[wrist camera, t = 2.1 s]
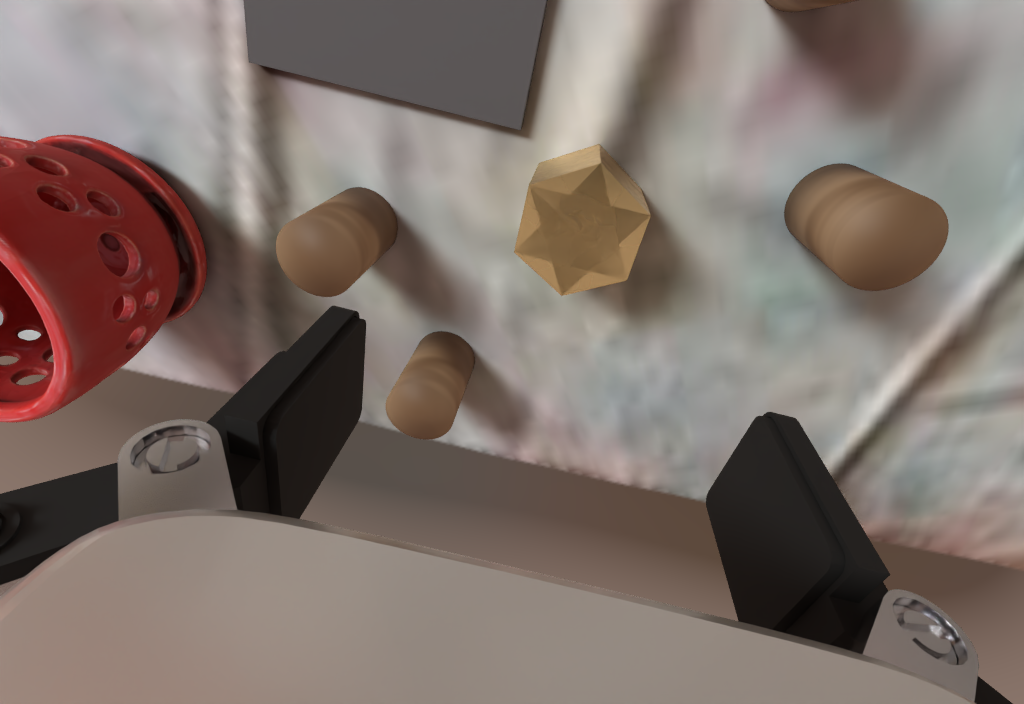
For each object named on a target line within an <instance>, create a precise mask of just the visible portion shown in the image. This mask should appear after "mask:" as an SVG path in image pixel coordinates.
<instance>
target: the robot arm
mask: <svg viewBox="0 0 1024 704" xmlns="http://www.w3.org/2000/svg"><path fill="white" fill-rule="evenodd" d="M365 336H366V321H365V320H364V319H360V318H359V313H358V312H357V311H353V310H349V309H345V308H341V307H337V306H332V307H330V308H329V309H328V310H327V311H326V312H325V313H324V314H323V315H322V316H321V317H320V318H319V319H318V320H317V321H316V322H315V323H314V324H313V325H312V326H311V327H310V328H309V329H308V330H307V331H306V332H305V333H304V334H303V335H302V336H301V337H300V338H299V339H298V340H297V341H296V342H295V343H294V344H293V345H292V347H291V348H290V349H289V350H288V351H287V352H285V351H282V352H279V353H277V354H276V355H275V356H274V357H273V358H272V359H271V360H270V361H269V362H268V363H267V364H266V365H265V366H264V367H262V368H261V369H260V370H259V371H258V372H257V373H256V374H255V375H254V376H253V377H252V378H251V379H250V380H249V381H248V382H247V383H246V384H245V385H244V386H243V387H242V388H241V389H240V390H239V391H238V392H237V393H236V394H235V395H234V396H233V397H232V398H231V399H230V400H229V401H228V402H227V403H226V404H225V405H224V406H223V407H222V408H221V409H220V410H219V411H218V412H217V413H216V414H215V415H214V416H213V417H212V418H211V419H210V420H209V421H208V422H207V423H204V422H201V421H197V420H185V419H182V420H172V421H166V422H163V423H159V424H156V425H152V426H151V427H148V428H146V429H144V430H142V431H140V432H138V433H137V434H136V435H134V436H133V437H132V438H130V439H129V440H128V441H127V442H126V443H125V445H124V446H123V447H122V448H121V450H120V453H119V457H118V463H114V464H110V465H107V466H103V467H99V468H96V469H92V470H88V471H84V472H80V473H77V474H73V475H69V476H65V477H62V478H58V479H54V480H51V481H47V482H43V483H39V484H36V485H32V486H28V487H25V488H21V489H17V490H13V491H10V492H6V493H2V494H0V704H1012V703H1011V702H1010V701H1009V700H1007V699H1006V698H1005V697H1003V696H1002V695H1001V694H1000V693H999V692H997V691H996V690H995V689H994V688H992V687H991V686H990V685H989V684H987V683H986V682H985V681H983V680H982V679H981V678H980V677H978V669H979V663H978V655H977V653H976V651H975V649H974V646H973V644H972V642H971V641H970V640H969V638H968V637H967V635H966V634H965V633H964V631H963V630H962V629H961V628H960V627H959V626H958V625H957V623H956V622H954V621H953V619H952V618H951V617H950V616H949V615H947V614H946V613H945V612H944V611H942V610H941V609H940V608H939V607H937V606H936V605H935V604H933V603H931V602H930V601H928V600H927V599H925V598H923V597H922V596H919V595H917V594H914V593H912V592H909V591H905V590H900V589H895V590H891V591H888V590H887V588H886V586H885V585H884V583H883V581H884V580H885V579H886V578H887V577H888V576H889V575H890V573H889V572H888V570H887V568H886V567H885V565H884V563H883V562H882V560H881V559H880V557H879V555H878V553H877V552H876V550H875V549H874V547H873V545H872V543H871V542H870V540H869V538H868V537H867V535H866V533H865V532H864V530H863V528H862V527H861V525H860V523H859V522H858V520H857V518H856V517H855V515H854V513H853V512H852V510H851V508H850V507H849V505H848V503H847V502H846V500H845V498H844V497H843V495H842V493H841V492H840V490H839V488H838V487H837V485H836V483H835V482H834V480H833V478H832V477H831V475H830V473H829V472H828V470H827V468H826V467H825V465H824V463H823V462H822V460H821V458H820V457H819V455H818V453H817V452H816V450H815V448H814V447H813V445H812V443H811V442H810V440H809V438H808V437H807V435H806V433H805V432H804V430H803V428H802V427H801V425H800V423H799V422H798V421H797V419H796V418H793V417H789V416H785V415H781V414H777V413H773V412H767V413H766V414H764V415H763V416H758V417H756V418H755V419H754V421H753V422H752V424H751V425H750V427H749V428H748V430H747V432H746V433H745V435H744V436H743V438H742V439H741V441H740V443H739V444H738V446H737V447H736V449H735V450H734V452H733V454H732V455H731V457H730V458H729V460H728V462H727V463H726V465H725V466H724V468H723V469H722V471H721V473H720V474H719V476H718V477H717V479H716V480H715V482H714V484H713V485H712V487H711V488H710V490H709V492H708V494H707V498H706V507H707V510H708V514H709V517H710V521H711V525H712V528H713V532H714V535H715V539H716V542H717V546H718V549H719V553H720V557H721V560H722V564H723V567H724V570H725V574H726V578H727V581H728V585H729V588H730V592H731V596H732V599H733V603H734V606H735V610H736V613H737V617H738V620H739V621H735V620H730V619H726V618H722V617H718V616H714V615H709V614H705V613H702V612H698V611H693V610H689V609H685V608H681V607H677V606H673V605H669V604H665V603H661V602H657V601H652V600H649V599H644V598H640V597H636V596H632V595H627V594H624V593H619V592H615V591H611V590H607V589H603V588H598V587H594V586H590V585H586V584H582V583H578V582H573V581H569V580H565V579H561V578H557V577H552V576H548V575H544V574H540V573H536V572H531V571H527V570H523V569H518V568H514V567H510V566H506V565H502V564H497V563H493V562H489V561H484V560H480V559H476V558H472V557H468V556H463V555H459V554H455V553H450V552H446V551H442V550H437V549H433V548H429V547H424V546H420V545H416V544H411V543H407V542H403V541H399V540H394V539H390V538H386V537H382V536H377V535H372V534H368V533H363V532H358V531H354V530H349V529H344V528H340V527H335V526H330V525H326V524H321V523H317V522H312V521H307V520H302V519H300V517H301V515H302V513H303V512H304V510H305V509H306V507H307V505H308V504H309V502H310V500H311V499H312V497H313V495H314V494H315V492H316V490H317V489H318V487H319V485H320V484H321V482H322V480H323V479H324V477H325V475H326V474H327V472H328V471H329V469H330V467H331V466H332V464H333V462H334V461H335V459H336V457H337V456H338V454H339V452H340V450H341V449H342V447H343V446H344V444H345V442H346V440H347V439H348V437H349V436H350V434H351V432H352V431H353V429H354V427H355V426H356V424H357V422H358V420H359V418H360V415H361V410H362V396H363V376H364V356H365Z"/></svg>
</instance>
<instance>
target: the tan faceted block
mask: <svg viewBox="0 0 1024 704" xmlns="http://www.w3.org/2000/svg"><path fill="white" fill-rule="evenodd" d="M650 217H651V215H650V212H649V209H648V206H647V204H646V201H645V198H644V195H643V193H642V190H641V188H640V187H639V186H638V185H637V184H636V183H635V182H634V181H633V180H632V178H631V177H630V176H629V175H628V174H627V173H626V172H625V171H624V170H623V169H622V168H621V167H620V166H619V165H618V164H617V162H616V161H615V160H614V159H613V158H612V157H611V156H610V155H609V154H608V153H607V152H606V151H605V150H604V149H603V148H602V146H601V145H600V144H597V145H594V146H591V147H588V148H585V149H582V150H578V151H575V152H572V153H569V154H566V155H563V156H560V157H556V158H553V159H550V160H547V161H544V162H541V163H539V164H538V167H537V169H536V171H535V173H534V175H533V177H532V180H531V182H530V184H529V188H528V192H527V197H526V201H525V206H524V210H523V215H522V219H521V224H520V228H519V233H518V237H517V242H516V246H515V251H514V253H516V254H517V255H518V256H519V257H520V258H521V259H522V260H523V261H524V262H525V263H526V264H528V265H529V266H530V267H531V268H532V269H533V270H534V271H535V272H536V273H537V274H538V275H540V276H541V277H542V278H543V279H544V280H545V281H546V282H547V283H548V284H549V285H550V286H552V287H553V288H554V289H555V290H556V291H557V292H558V293H559V294H560V295H561V296H563V295H567V294H571V293H576V292H580V291H584V290H589V289H593V288H597V287H601V286H606V285H610V284H614V283H618V282H623V281H627V278H628V276H629V273H630V270H631V268H632V265H633V262H634V260H635V257H636V254H637V252H638V249H639V246H640V243H641V241H642V238H643V235H644V233H645V230H646V227H647V225H648V222H649V219H650Z"/></svg>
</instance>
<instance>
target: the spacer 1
mask: <svg viewBox="0 0 1024 704" xmlns="http://www.w3.org/2000/svg"><path fill="white" fill-rule="evenodd" d="M397 231H398V225H397V219H396V216H395V213H394V211H393V209H392V208H391V206H390V205H389V203H388V202H387V201H386V200H385V199H384V198H383V197H382V196H381V195H379V194H378V193H376V192H374V191H372V190H370V189H367V188H361V187H355V188H350V189H347V190H345V191H343V192H341V193H340V194H338V195H336V196H334V197H333V198H331V199H329V200H327V201H326V202H324V203H322V204H320V205H318V206H317V207H315V208H313V209H311V210H310V211H308V212H306V213H304V214H303V215H301V216H299V217H297V218H296V219H294V220H292V221H290V222H289V223H287V224H286V225H285V226H284V227H283V228H282V229H281V230H280V232H279V234H278V237H277V241H276V253H277V258H278V261H279V263H280V266H281V267H282V269H283V271H284V272H285V274H286V275H287V276H288V278H289V279H290V280H291V281H292V282H293V283H294V284H295V285H297V286H298V287H299V288H301V289H302V290H304V291H306V292H308V293H310V294H313V295H316V296H321V297H332V296H336V295H339V294H341V293H343V292H345V291H346V290H347V289H348V288H349V287H350V286H351V285H352V284H353V283H354V282H355V281H356V280H357V279H358V278H359V277H360V276H361V275H363V274H364V273H365V272H366V271H367V270H368V269H369V268H370V267H371V266H372V265H373V264H374V263H375V262H376V261H377V260H378V259H379V258H380V257H381V256H382V255H383V254H384V253H385V252H386V251H387V250H388V249H389V248H390V247H391V246H392V245H393V243H394V241H395V239H396V236H397Z"/></svg>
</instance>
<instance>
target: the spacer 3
mask: <svg viewBox="0 0 1024 704" xmlns="http://www.w3.org/2000/svg"><path fill="white" fill-rule="evenodd" d="M765 1H766V2H767V3H768V4H770V5H771V6H772V7H774V8H776V9H778V10H781V11H785V12H800V11H806V10H811V9H816V8H821V7H826V6H831V5H837V4H842V3H847V2H852V1H857V0H765Z"/></svg>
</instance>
